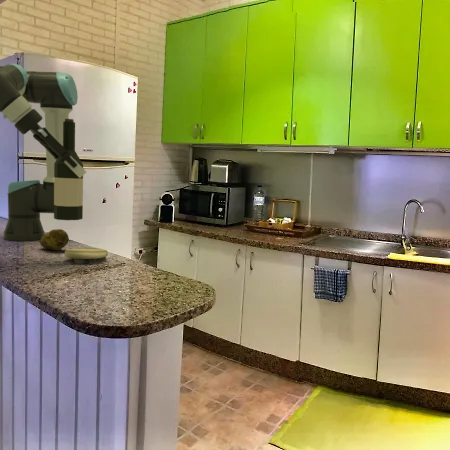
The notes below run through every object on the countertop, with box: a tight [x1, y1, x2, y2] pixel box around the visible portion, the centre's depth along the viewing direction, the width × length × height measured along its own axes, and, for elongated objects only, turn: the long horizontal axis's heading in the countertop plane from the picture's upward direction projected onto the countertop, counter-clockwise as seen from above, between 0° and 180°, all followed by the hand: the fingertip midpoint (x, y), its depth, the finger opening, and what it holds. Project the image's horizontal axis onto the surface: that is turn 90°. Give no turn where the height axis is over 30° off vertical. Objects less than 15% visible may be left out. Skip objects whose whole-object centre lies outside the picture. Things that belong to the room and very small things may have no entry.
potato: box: [39, 228, 69, 251], centre depth 160 cm, size 8×13×8 cm, turn 31°
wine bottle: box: [53, 118, 84, 221], centre depth 139 cm, size 8×8×30 cm
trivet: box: [64, 247, 108, 265], centre depth 146 cm, size 13×13×3 cm
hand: (80, 174), depth 140 cm, fingers closed on wine bottle, 8 cm apart
